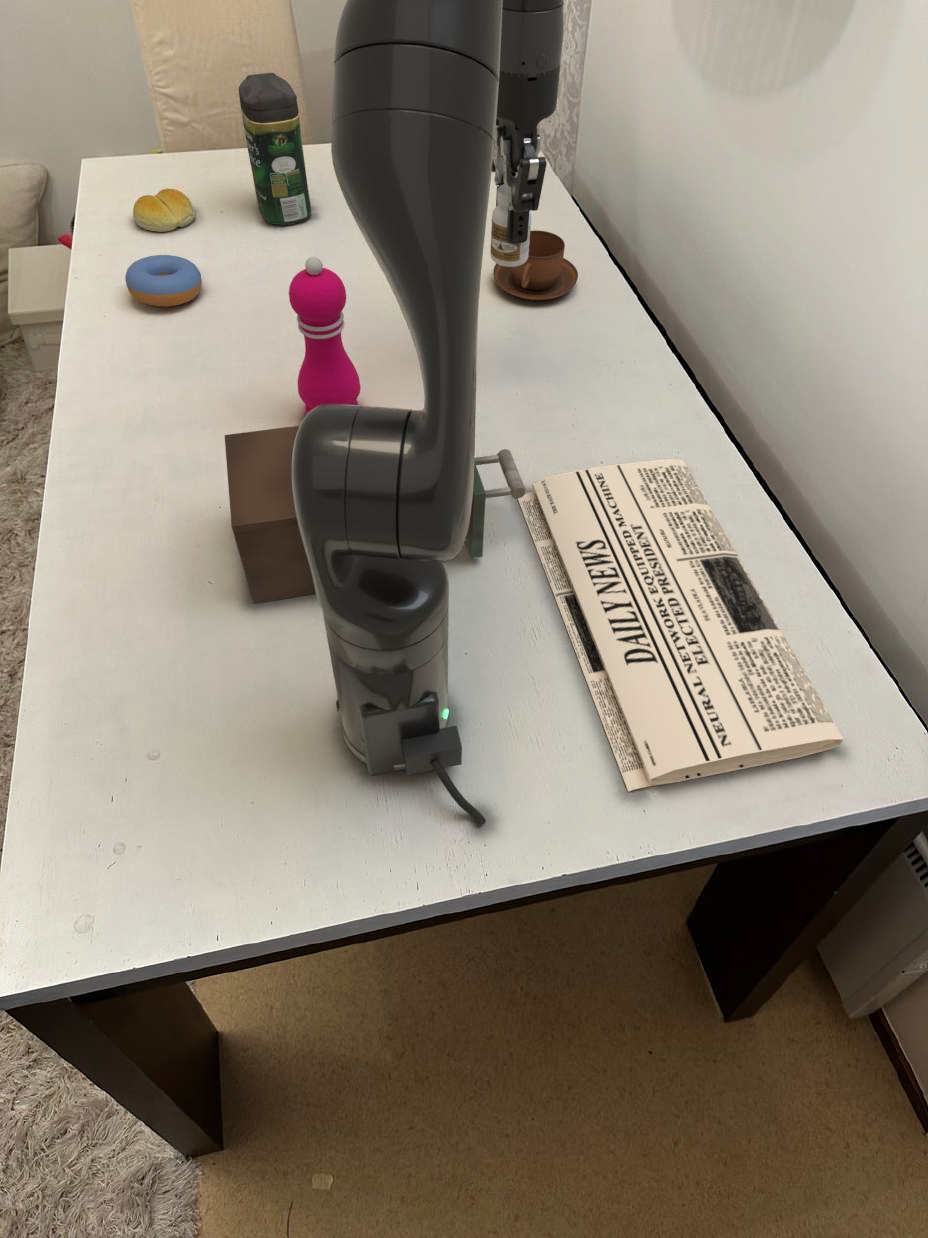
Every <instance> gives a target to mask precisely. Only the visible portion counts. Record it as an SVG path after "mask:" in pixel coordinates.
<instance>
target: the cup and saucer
mask: <svg viewBox="0 0 928 1238" xmlns="http://www.w3.org/2000/svg"><path fill="white" fill-rule="evenodd" d="M565 248H566V244H565V241H564V239H563V238H562V237H560V236H559V235H558V234H556V233H553V232H550V231H547V230H535V229H534V230H530V242H529V253H528V259H527V261H526V262H525V263H523V264H522V265H520V266H514V267H508V266H502V265H499V264H497V263H495V264H494V267H493V270H492V271H493V273H492V274H493V278H494V281H495V283H496V284H497V285H498V286H499V287H500V288H501V289H502V290H503V291H505V292H506V293H508V294H510V295H511V296H514V297H517V298H521V299H524V300H529V301H544V300H551V299H552V300H553V299H556V298H558V297H561V296H563V295H565V294H567V293H569V292H570V291H571V290H572V289H573V288H574V287H575V286H576V284H577V282H578V280H579V272H578V270H577V268H576V266H575V265H574V264H573V263H572V262H571V261H570V260H568V259H566V258H565V257H564V255H565Z"/></svg>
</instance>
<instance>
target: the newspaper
mask: <svg viewBox="0 0 928 1238" xmlns="http://www.w3.org/2000/svg"><path fill="white" fill-rule="evenodd" d="M532 490H533V491H531V492H526V493H525V495H524V496H523V497H521V498H517V500H518V502H519V506H520V509H521V511H522V514H523V516H524V519H525V522H526V525H527V527H528V530H529V532H530V535H531V537H532V541H533V543H534V545H535V548H536V551H537V553H538V557H539V559H540V561H541V564H542V567H543V570H544V572H545V575H546V578H547V580H548V583H549V585H550V589H551V591H552V594H553V596H554V598H555V601H556V605H557V607H558V610H559V612H560V615H561V617H562V620H563V623H564V625H565V629H566V630H567V633H568V635H569V639H570V641H571V644H572V646H573V649H574V651H575V655H576V657H577V659H578V662H579V665H580V667H581V670H582V673H583V676H584V678H585V682H586V684H587V686H588V689H589V691H590V694H591V697H592V699H593V702H594V704H595V707H596V710H597V713H598V715H599V718H600V720H601V723H602V726H603V728H604V731H605V733H606V736H607V740H608V741H609V744H610V747H611V749H612V752H613V755H614V758H615V760H616V763H617V766H618V768H619V772H620V774H621V776H622V779H623V781H624V784H625V787H626V790H627V792H631V791H634V790H639V789H643V788H648V787H653V786H661V785H668V784H674V783H680V782H685V781H690V780H694V779H701V778H704V777H709V776H715V775H719V774H725V773H729V772H734V771H739V770H745V769H750V768H754V767H760V766H763V765H768V764H774V763H778V762H779V763H780V762H783V761H784V762H785V761H789V760H794V759H799V758H803V757H806V756H810V755H814V754H818V753H821V752H825V751H829V750H832V749H834V748H836V747H839V746H840V745H842V743H843V741H844V737H843V736H842V734H841V731H839V729H838V727H837V726H836V724H835V722H834V720H833V718H832V716H831V715H830V713H829V711H828V709H827V708H826V706H825V704H824V702H823V701H822V698H820V695H819V693H817V690H816V689H815V687H814V685H813V684H812V682H811V680H810V678H809V677H808V675H807V673H806V672H805V670H804V668H803V666H802V664H801V663H800V660H799V659H798V658H797V655H796V654H795V652H794V650H793V649H792V647H791V645H790V643H789V642H788V640H787V638H786V636H785V635H784V633H783V632H782V630H781V628H780V626H779V624H778V622H777V621H776V619H775V617H774V615H773V614H772V613H771V611H770V609H769V607H768V605H767V604H766V602H765V600H764V598H763V597H762V595H761V594H760V591H759V590H758V588H757V586H756V584H755V583H754V581H753V579H752V577H751V576H750V574H749V572H748V570H747V569H746V567H745V565H744V564H743V562H742V560H741V559H740V556H739V555H738V553H737V551H736V550H735V548H734V546H733V544H732V543H731V540H730V539H729V538H728V536H727V534H726V532H725V531H724V529H723V527H722V525H721V524H720V522H719V520H718V518H717V517H716V515H715V513H714V512H713V510H712V508H711V506H710V505H709V503H708V501H707V500H706V498H705V496H704V494H703V493H702V491H701V489H700V487H699V486H698V483H697V482H696V481H695V478H694V477H693V475H692V473H691V472H690V470H689V468H688V466H687V465H686V463H685V461H684V460H682V459H676V458H675V459H674V458H666V459H665V458H664V459H655V460H645V461H636V462H625V463H617V464H607V465H601V466H595V467H589V468H583V469H579V470H574V471H567V472H563V473H558V474H550V475H548V476H546V477H544V478H541V479H539V480H537V481H536V482H533V483H532Z"/></svg>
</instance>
